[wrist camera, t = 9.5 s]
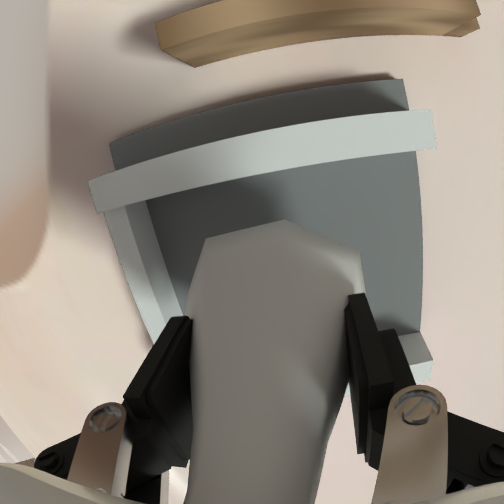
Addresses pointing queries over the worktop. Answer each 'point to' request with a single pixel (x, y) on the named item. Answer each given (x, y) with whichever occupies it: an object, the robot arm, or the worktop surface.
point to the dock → (277, 194)
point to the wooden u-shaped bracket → (304, 24)
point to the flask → (267, 362)
